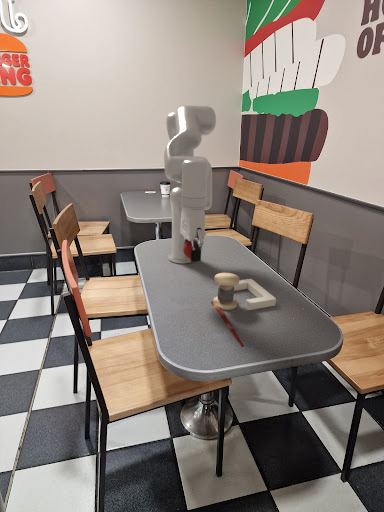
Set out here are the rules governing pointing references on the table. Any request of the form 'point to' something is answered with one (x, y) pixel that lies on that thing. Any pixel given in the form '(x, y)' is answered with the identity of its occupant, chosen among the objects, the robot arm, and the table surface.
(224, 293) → the spool
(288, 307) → the table surface
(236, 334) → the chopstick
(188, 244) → the onion
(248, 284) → the notch board
